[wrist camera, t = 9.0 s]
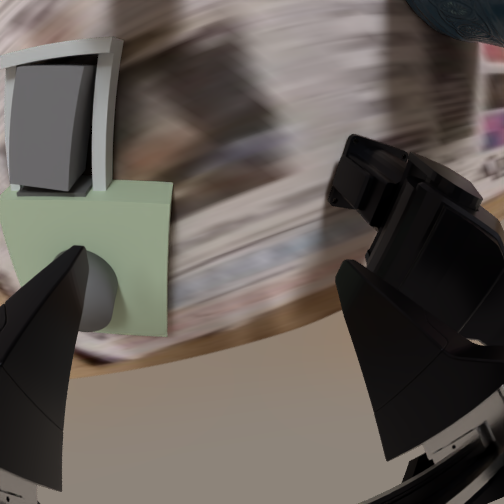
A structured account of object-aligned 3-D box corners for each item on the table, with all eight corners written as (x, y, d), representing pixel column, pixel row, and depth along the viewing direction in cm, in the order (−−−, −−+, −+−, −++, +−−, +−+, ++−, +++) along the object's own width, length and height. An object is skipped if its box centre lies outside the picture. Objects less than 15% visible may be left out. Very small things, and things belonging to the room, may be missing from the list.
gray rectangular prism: (104, 65, 14) (83, 66, 11) (86, 168, 18) (68, 191, 15) (45, 63, 13) (17, 67, 9) (33, 162, 17) (9, 183, 14)
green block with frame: (193, 42, 15) (193, 31, 10) (167, 309, 29) (167, 363, 24) (14, 55, 11) (-40, 64, 6) (46, 300, 25) (30, 348, 20)
